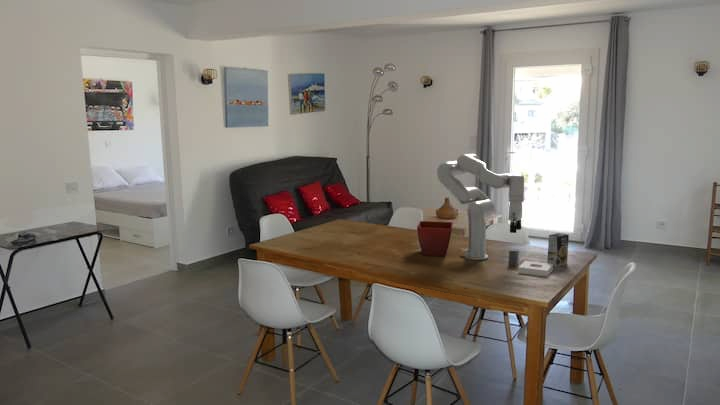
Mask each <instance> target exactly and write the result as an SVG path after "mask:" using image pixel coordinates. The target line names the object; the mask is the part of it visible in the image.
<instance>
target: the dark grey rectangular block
mask: <svg viewBox="0 0 720 405" xmlns="http://www.w3.org/2000/svg"><path fill="white" fill-rule="evenodd" d="M519 254H520V251H519V249H513V248H511V249H509V250H508V266H512V267H518V266H519Z"/></svg>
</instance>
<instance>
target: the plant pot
mask: <svg viewBox="0 0 720 405" xmlns="http://www.w3.org/2000/svg"><path fill="white" fill-rule="evenodd" d="M453 223H454V222H451V221H431V220H430V221H429V220H421V221H420V220H419V223H418V224H417V226H416V232H417V238H418V242H419V243H418V244H419V247H420V251H421V253H422V256H432V257H433V256H434V257H435V256H436V257H445V256H446V255H447V251H448V250H449V249H448V248H449V246H450V241H451V236H452V230H453Z"/></svg>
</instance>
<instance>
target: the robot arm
mask: <svg viewBox="0 0 720 405" xmlns="http://www.w3.org/2000/svg"><path fill="white" fill-rule="evenodd" d="M465 173H469V174H471V175H473V176H475V177H477V178H478V180H480V181H481V183H482V184H483V185H486V186H488V187H490V188H493V189H495V190H499V189H506V188H507V189H508V202H509V205H508V221H509V222H510V223H509V233H510V234H512V233H513V234H516V233H517V230H518V231H521V230H522V217H523V203H524V201H525V176H524V175H523V174H512V173H509V172H508V173H507V172H506V173H505V172H504V173H498V174H497V173H495V172H493V171H491V170H488V165H487V163H486V162H484V161H482V160H481V158H480V157H479V156H478V155H477V154H475V153H463V154H461V155H459V156H458V157H457V159H456V160H452V161H451V160H449V161H444V162H442V163H440V164H439V165H438V167H437V170H436V174H437V176H436V177H437V179H438V182H440V184H441V186H443V187H444V188H445V189H446V190H447V191H448V192H449V193H450V194H451V195H452V196H453V197H454V198H455V199H456V200H457V201H458V202H459V203H460V204H461V205H464V206H467V205H468V206H467V210H466V214H467V220H468V231H467V232H468V235H467V236H468V237H467V240H468V241H467V248H460V252H461V253H465V255H464V257H465V258H466V259H469V260H474V261H485V260H488V258H489V255H488V254H486V248H487V247H486V246H487V245H486V244H487V223H486V220H485V218H487V217H490V216H492V215H493V214H494V213H495V211H496V210H495V209H496V207H495V204H494V202H493V201H492V200H491V199H490V198H489V197H488V195H487V194H486V193H485V192H483V191H482V190H481V189H480V188H478V187H476V186H466V185H465V184H464V183H463V182H462V181H461V180H459V179H458V178H457V177H458V176H461V175H463V174H465ZM455 176H457V177H455Z"/></svg>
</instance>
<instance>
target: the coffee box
mask: <svg viewBox="0 0 720 405" xmlns="http://www.w3.org/2000/svg"><path fill="white" fill-rule="evenodd" d="M569 237H570V234H565V233H557V232H556V233H553V234H549V235H548V245H547V262H546V263H547V264H553V267H556V268H559V267H562V266H566V265H568V256H569V254H568V253H569V239H570V238H569Z"/></svg>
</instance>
